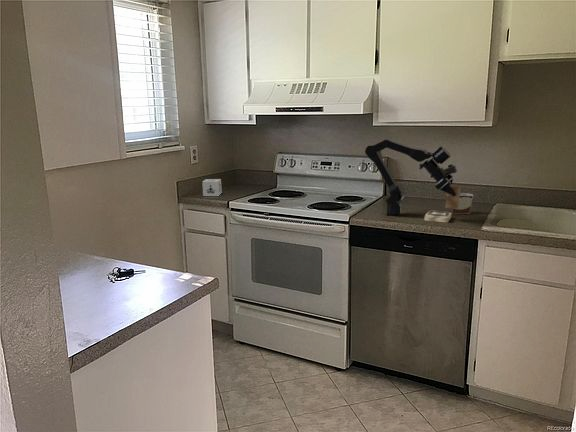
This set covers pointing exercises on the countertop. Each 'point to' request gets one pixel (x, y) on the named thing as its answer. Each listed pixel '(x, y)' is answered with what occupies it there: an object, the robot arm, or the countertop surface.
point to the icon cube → (212, 187)
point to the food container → (464, 204)
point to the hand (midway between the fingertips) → (456, 194)
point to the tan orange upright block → (453, 197)
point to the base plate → (438, 216)
